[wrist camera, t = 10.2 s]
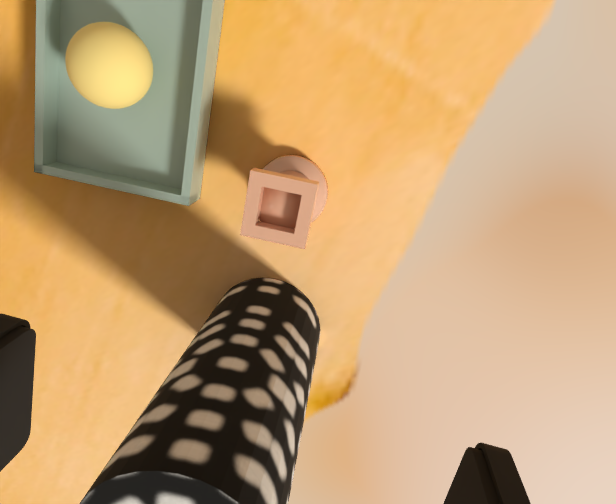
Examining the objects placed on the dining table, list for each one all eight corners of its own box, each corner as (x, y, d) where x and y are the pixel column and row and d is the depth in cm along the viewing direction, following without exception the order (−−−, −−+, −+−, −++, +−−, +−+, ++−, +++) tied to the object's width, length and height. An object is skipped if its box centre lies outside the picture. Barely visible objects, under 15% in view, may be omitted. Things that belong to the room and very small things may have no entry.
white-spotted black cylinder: (209, 363, 40) (70, 606, 21) (220, 268, 38) (71, 450, 19) (310, 383, 40) (259, 650, 21) (328, 289, 37) (289, 497, 18)
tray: (61, -84, 31) (37, -97, 29) (230, -51, 31) (220, -62, 28) (54, 166, 36) (34, 171, 34) (199, 198, 36) (188, 205, 34)
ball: (96, 19, 32) (47, 8, 28) (169, 34, 32) (132, 26, 27) (92, 98, 34) (46, 101, 29) (162, 113, 34) (126, 119, 29)
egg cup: (263, 148, 34) (243, 159, 29) (334, 163, 34) (328, 178, 28) (252, 216, 36) (231, 240, 30) (319, 231, 36) (311, 258, 30)
